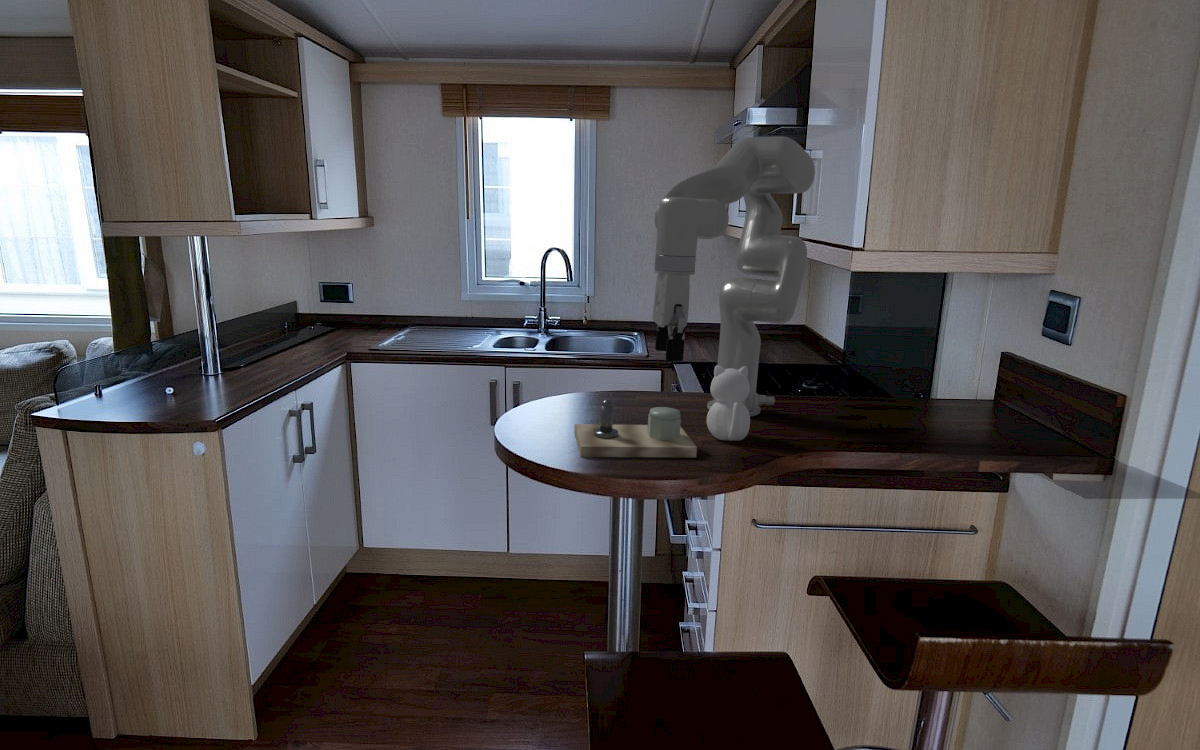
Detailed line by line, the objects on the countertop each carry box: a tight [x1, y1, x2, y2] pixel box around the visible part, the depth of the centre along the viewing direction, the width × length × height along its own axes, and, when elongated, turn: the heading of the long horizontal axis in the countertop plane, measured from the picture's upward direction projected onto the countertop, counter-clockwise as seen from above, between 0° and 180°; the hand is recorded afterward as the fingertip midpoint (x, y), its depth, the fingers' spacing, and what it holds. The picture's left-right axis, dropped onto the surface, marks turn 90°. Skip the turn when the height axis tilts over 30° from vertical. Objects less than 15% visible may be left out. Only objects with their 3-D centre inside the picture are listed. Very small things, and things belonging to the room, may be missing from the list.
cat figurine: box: [706, 364, 751, 442], centre depth 137 cm, size 9×12×15 cm
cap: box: [647, 406, 682, 440], centre depth 131 cm, size 6×6×5 cm
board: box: [574, 423, 698, 458], centre depth 131 cm, size 22×14×2 cm, turn 97°
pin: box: [593, 398, 618, 439], centre depth 129 cm, size 5×5×7 cm
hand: (668, 355), depth 127 cm, fingers open, 9 cm apart
